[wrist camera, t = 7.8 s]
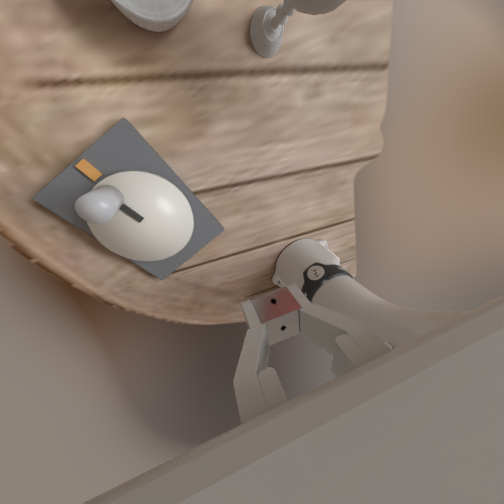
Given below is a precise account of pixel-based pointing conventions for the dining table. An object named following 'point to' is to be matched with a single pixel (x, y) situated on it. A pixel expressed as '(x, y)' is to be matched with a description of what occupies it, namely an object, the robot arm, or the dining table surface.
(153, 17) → the ramekin
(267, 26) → the chalice
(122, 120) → the dial board
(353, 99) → the dining table surface
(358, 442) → the robot arm
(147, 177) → the dial
